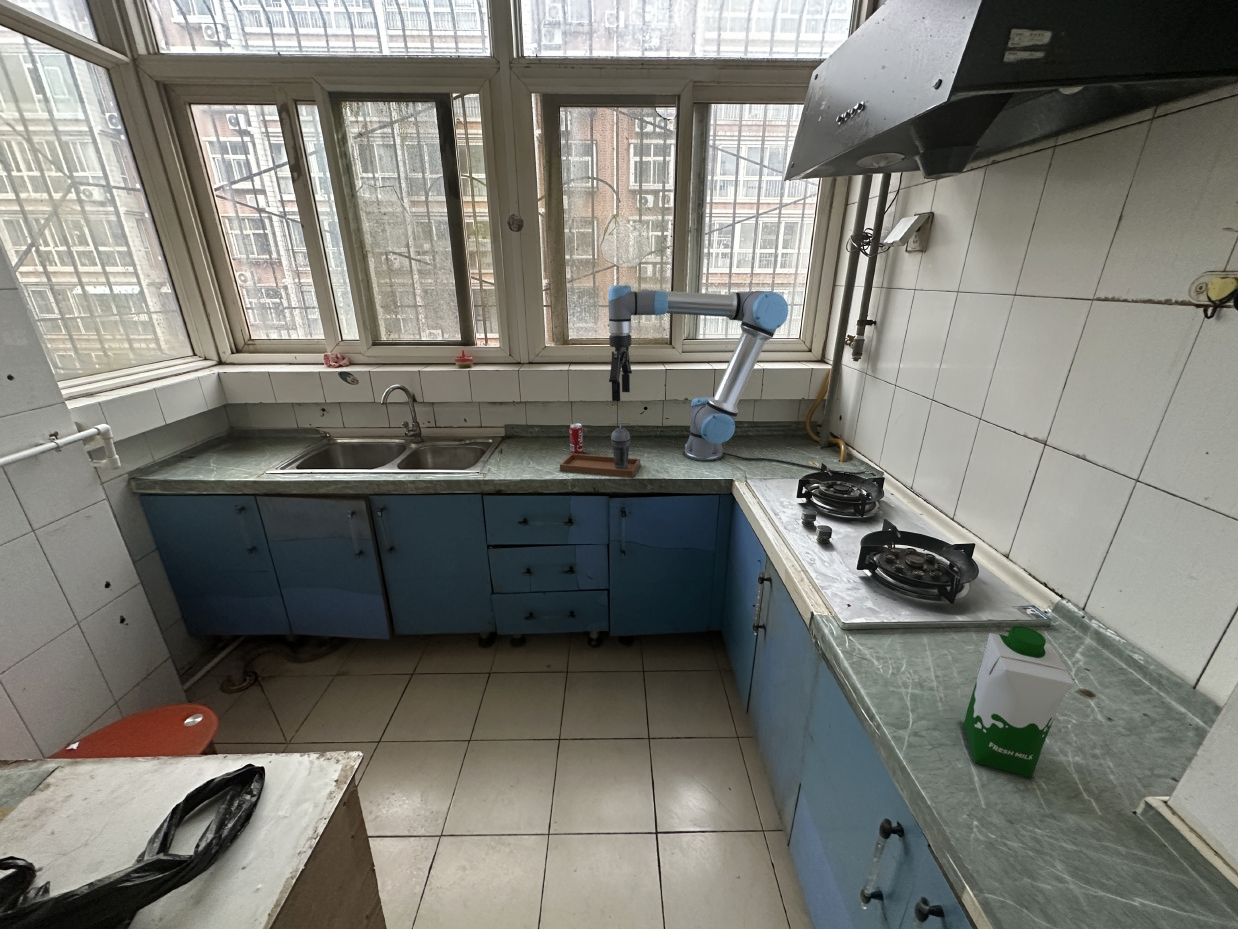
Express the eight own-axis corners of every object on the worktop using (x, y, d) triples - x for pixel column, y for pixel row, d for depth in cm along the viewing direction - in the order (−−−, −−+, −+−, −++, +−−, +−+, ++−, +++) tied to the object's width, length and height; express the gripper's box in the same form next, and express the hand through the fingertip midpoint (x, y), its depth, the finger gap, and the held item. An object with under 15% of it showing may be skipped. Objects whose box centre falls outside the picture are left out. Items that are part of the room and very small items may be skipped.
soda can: (581, 450, 205) (580, 422, 201) (584, 454, 200) (583, 426, 196) (569, 452, 203) (568, 423, 199) (572, 456, 199) (571, 427, 194)
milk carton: (1020, 735, 78) (1059, 631, 71) (1042, 787, 70) (1089, 676, 63) (955, 719, 81) (986, 617, 74) (969, 767, 73) (1006, 659, 66)
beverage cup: (631, 465, 187) (631, 413, 180) (630, 472, 180) (629, 419, 173) (612, 464, 188) (611, 413, 181) (610, 471, 181) (609, 418, 174)
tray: (640, 465, 189) (640, 458, 188) (632, 477, 177) (632, 471, 176) (571, 459, 195) (571, 453, 194) (560, 471, 184) (559, 464, 183)
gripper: (618, 329, 179) (619, 388, 187) (598, 338, 156) (600, 404, 164) (639, 330, 177) (639, 389, 185) (621, 338, 155) (622, 405, 162)
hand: (621, 396), depth 174 cm, fingers open, 13 cm apart
